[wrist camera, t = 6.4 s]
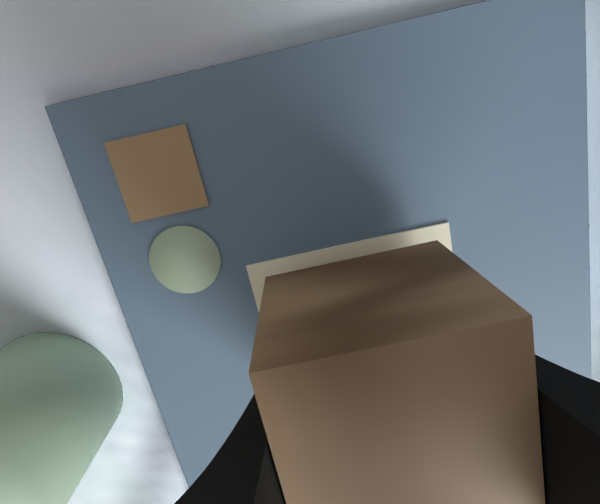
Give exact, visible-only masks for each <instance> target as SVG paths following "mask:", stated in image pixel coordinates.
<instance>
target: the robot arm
mask: <svg viewBox="0 0 600 504" xmlns="http://www.w3.org/2000/svg"><path fill="white" fill-rule="evenodd" d="M535 363H536V378H537V392H538V406H539V421H540V435H541V449H542V463H543V478H544V492H545V504H600V382H597V381H595V380H592V379H590V378H587V377H585V376H582V375H580V374H577V373H575V372H573V371H570V370H568V369H566V368H563V367H561V366H559V365H557V364H555V363H552V362H550V361H548V360H546V359H544V358H542V357H539V356H537V355H535ZM175 504H286V501H285V497H284V494H283V490H282V487H281V483H280V480H279V477H278V473H277V470H276V466H275V463H274V459H273V456H272V453H271V449H270V446H269V442H268V439H267V435H266V432H265V429H264V425H263V422H262V418H261V415H260V411H259V408H258V405H257V401H256V398H255V394H254V395H253V397H252V398H251V400H250V402H249V404H248V405H247V407H246V409H245V411H244V412H243V414H242V416H241V417H240V419H239V420H238V422H237V424H236V425H235V427H234V428H233V430H232V432H231V433H230V435H229V436H228V438H227V439H226V441H225V442H224V444H223V445H222V446H221V448H220V449H219V451H218V452H217V454H216V455H215V456H214V458H213V459H212V461H211V462H210V463H209V465H208V466H207V467H206V468H205V470H204V471H203V472H202V473H201V475H200V476H199V477H198V478H197V479H196V481H195V482H194V483H193V484H192V485H191V486H190V488H189V489H188V490H187V491H186V492H185V493H184V494H183V495H182V496H181V497H180V499H179V500H178V501H177V502H176V503H175Z"/></svg>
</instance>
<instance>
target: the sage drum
mask: <svg viewBox="0 0 600 504" xmlns="http://www.w3.org/2000/svg"><path fill="white" fill-rule="evenodd" d="M122 401H123V391H122V385H121V382H120V379H119V376H118V374H117V372H116V370H115V369H114V367H113V366H112V364H111V363H110V362H109V360H108V359H107V358H106V357H105V356H104V355H103V354H102V353H101V352H100V351H98V350H97V349H96V348H94V347H93V346H91V345H90V344H88V343H86V342H85V341H82V340H80V339H78V338H76V337H72V336H69V335H66V334H61V333H53V332H39V333H32V334H28V335H25V336H22V337H20V338H17V339H15V340H14V341H12V342H10V343H9V344H7V345H6V346H5V347H4V348H2V349H1V350H0V504H67V503H68V501H69V499H70V498H71V496H72V494H73V493H74V491H75V489H76V487H77V486H78V484H79V482H80V481H81V479H82V477H83V475H84V474H85V472H86V470H87V469H88V467H89V465H90V463H91V462H92V460H93V458H94V457H95V455H96V453H97V452H98V450H99V448H100V446H101V445H102V443H103V441H104V440H105V438H106V436H107V434H108V433H109V431H110V429H111V428H112V426H113V424H114V422H115V421H116V419H117V417H118V415H119V413H120V410H121V407H122Z"/></svg>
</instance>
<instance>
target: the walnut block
mask: <svg viewBox="0 0 600 504" xmlns="http://www.w3.org/2000/svg"><path fill="white" fill-rule="evenodd" d="M248 374H249V377H250V381H251V384H252V387H253V391H254V394H255V398H256V401H257V405H258V408H259V411H260V415H261V418H262V422H263V425H264V429H265V432H266V435H267V439H268V442H269V446H270V449H271V453H272V456H273V459H274V463H275V466H276V470H277V473H278V477H279V480H280V483H281V487H282V490H283V494H284V497H285V501H286V504H545V492H544V478H543V463H542V449H541V435H540V421H539V406H538V392H537V378H536V363H535V349H534V335H533V321H532V315H531V314H530V313H528V312H527V311H526V310H525V309H523V308H522V307H521V306H520V305H518V304H517V303H516V302H515V301H513V300H512V299H511V298H510V297H508V296H507V295H506V294H504V293H503V292H502V291H501V290H499V289H498V288H497V287H496V286H494V285H493V284H492V283H491V282H489V281H488V280H487V279H486V278H484V277H483V276H482V275H481V274H479V273H478V272H477V271H475V270H474V269H473V268H472V267H470V266H469V265H468V264H467V263H465V262H464V261H463V260H462V259H460V258H459V257H458V256H457V255H455V254H454V253H453V252H452V251H450V250H449V249H448V248H446V247H445V246H444V245H443V244H441V243H440V242H439V241H438V240H435V241H431V242H426V243H421V244H417V245H412V246H407V247H403V248H398V249H394V250H389V251H384V252H380V253H375V254H370V255H366V256H361V257H356V258H352V259H347V260H342V261H338V262H333V263H328V264H324V265H319V266H314V267H310V268H305V269H300V270H296V271H291V272H286V273H282V274H277V275H272V276H268V277H265V283H264V288H263V294H262V300H261V305H260V311H259V317H258V322H257V328H256V333H255V339H254V345H253V350H252V356H251V362H250V367H249V373H248Z"/></svg>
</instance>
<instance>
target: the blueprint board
mask: <svg viewBox="0 0 600 504" xmlns="http://www.w3.org/2000/svg"><path fill="white" fill-rule="evenodd" d="M45 108H46V111H47V114H48V116H49V119H50V122H51V124H52V127H53V129H54V132H55V135H56V137H57V140H58V143H59V145H60V148H61V151H62V153H63V156H64V158H65V161H66V164H67V166H68V169H69V172H70V174H71V177H72V180H73V182H74V185H75V188H76V190H77V193H78V195H79V198H80V201H81V203H82V206H83V209H84V211H85V214H86V217H87V219H88V222H89V225H90V227H91V230H92V232H93V235H94V238H95V240H96V243H97V246H98V248H99V251H100V254H101V256H102V259H103V261H104V264H105V267H106V269H107V272H108V275H109V277H110V280H111V283H112V285H113V288H114V291H115V293H116V296H117V298H118V301H119V304H120V306H121V309H122V312H123V314H124V317H125V320H126V322H127V325H128V327H129V330H130V333H131V335H132V338H133V341H134V343H135V346H136V349H137V351H138V354H139V357H140V359H141V362H142V364H143V367H144V370H145V372H146V375H147V378H148V380H149V383H150V386H151V388H152V391H153V394H154V396H155V399H156V401H157V404H158V407H159V409H160V412H161V415H162V417H163V420H164V423H165V425H166V428H167V430H168V433H169V436H170V438H171V441H172V444H173V446H174V449H175V452H176V454H177V457H178V460H179V462H180V465H181V467H182V470H183V473H184V475H185V478H186V481H187V483H188V486H189V488H190V486H191V485H192V484H193V483H194V482H195V481H196V479H197V478H198V477H199V476H200V475H201V473H202V472H203V471H204V470H205V468H206V467H207V466H208V465H209V463H210V462H211V461H212V459H213V458H214V456H215V455H216V454H217V452H218V451H219V449H220V448H221V446H222V445H223V444H224V442H225V441H226V439H227V438H228V436H229V435H230V433H231V432H232V430H233V428H234V427H235V425H236V424H237V422H238V420H239V419H240V417H241V416H242V414H243V412H244V411H245V409H246V407H247V405H248V404H249V402H250V400H251V398H252V397H253V395H254V391H253V387H252V384H251V381H250V377H249V374H248V373H249V367H250V362H251V356H252V350H253V345H254V339H255V333H256V328H257V322H258V317H259V311H260V305H261V300H262V294H263V288H264V283H265V277H268V276H272V275H277V274H282V273H286V272H291V271H296V270H300V269H305V268H310V267H314V266H319V265H324V264H328V263H333V262H338V261H342V260H347V259H352V258H356V257H361V256H366V255H370V254H375V253H380V252H384V251H389V250H394V249H398V248H403V247H407V246H412V245H417V244H421V243H426V242H431V241H435V240H438V241H439V242H440V243H441V244H443V245H444V246H445V247H446V248H448V249H449V250H450V251H452V252H453V253H454V254H455V255H457V256H458V257H459V258H460V259H462V260H463V261H464V262H465V263H467V264H468V265H469V266H470V267H472V268H473V269H474V270H475V271H477V272H478V273H479V274H481V275H482V276H483V277H484V278H486V279H487V280H488V281H489V282H491V283H492V284H493V285H494V286H496V287H497V288H498V289H499V290H501V291H502V292H503V293H504V294H506V295H507V296H508V297H510V298H511V299H512V300H513V301H515V302H516V303H517V304H518V305H520V306H521V307H522V308H523V309H525V310H526V311H527V312H528V313H530V314H531V315H532V321H533V335H534V349H535V355H537V356H539V357H542V358H544V359H546V360H548V361H550V362H552V363H555V364H557V365H559V366H561V367H563V368H566V369H568V370H570V371H573V372H575V373H577V374H580V375H582V376H585V377H587V378H590V379H591V323H590V265H589V206H588V148H587V90H586V31H585V0H488V1H484V2H480V3H476V4H471V5H467V6H463V7H459V8H455V9H451V10H446V11H442V12H438V13H434V14H430V15H425V16H421V17H417V18H413V19H409V20H404V21H400V22H396V23H392V24H388V25H383V26H379V27H375V28H371V29H367V30H363V31H358V32H354V33H350V34H346V35H342V36H337V37H333V38H329V39H325V40H321V41H316V42H312V43H308V44H304V45H300V46H295V47H291V48H287V49H283V50H279V51H275V52H270V53H266V54H262V55H258V56H254V57H249V58H245V59H241V60H237V61H233V62H228V63H224V64H220V65H216V66H212V67H207V68H203V69H199V70H195V71H191V72H186V73H182V74H178V75H174V76H170V77H166V78H161V79H157V80H153V81H149V82H145V83H140V84H136V85H132V86H128V87H124V88H119V89H115V90H111V91H107V92H103V93H98V94H94V95H90V96H86V97H82V98H78V99H73V100H69V101H65V102H61V103H57V104H52V105H48V106H45Z"/></svg>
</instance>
